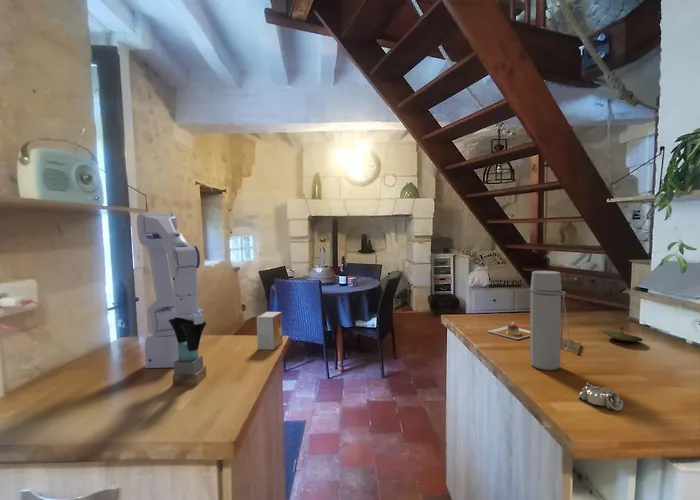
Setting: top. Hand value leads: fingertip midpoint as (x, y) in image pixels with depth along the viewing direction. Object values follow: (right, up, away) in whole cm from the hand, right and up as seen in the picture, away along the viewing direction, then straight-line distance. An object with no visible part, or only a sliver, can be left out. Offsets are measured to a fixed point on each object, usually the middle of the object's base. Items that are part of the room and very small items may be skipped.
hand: (188, 347), depth 96 cm
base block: (0, -9, 0) cm, 9 cm away
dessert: (+97, -5, +35) cm, 104 cm away
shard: (+108, -6, +19) cm, 110 cm away
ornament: (+93, -8, -17) cm, 95 cm away
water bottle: (+93, -6, +4) cm, 93 cm away
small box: (+15, -7, +28) cm, 32 cm away
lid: (+126, -4, +23) cm, 128 cm away
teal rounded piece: (0, -3, 0) cm, 3 cm away
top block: (0, -6, 0) cm, 6 cm away
